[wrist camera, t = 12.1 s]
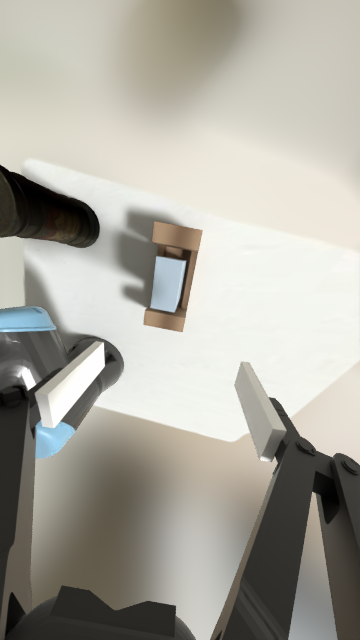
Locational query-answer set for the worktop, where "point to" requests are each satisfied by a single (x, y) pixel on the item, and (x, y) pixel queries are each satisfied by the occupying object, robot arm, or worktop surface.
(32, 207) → the container
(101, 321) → the worktop surface
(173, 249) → the frame
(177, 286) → the door
